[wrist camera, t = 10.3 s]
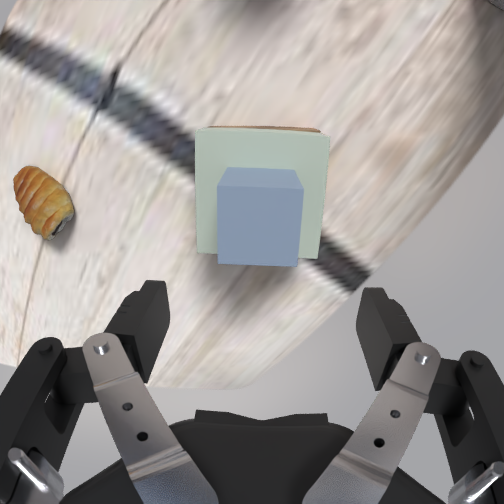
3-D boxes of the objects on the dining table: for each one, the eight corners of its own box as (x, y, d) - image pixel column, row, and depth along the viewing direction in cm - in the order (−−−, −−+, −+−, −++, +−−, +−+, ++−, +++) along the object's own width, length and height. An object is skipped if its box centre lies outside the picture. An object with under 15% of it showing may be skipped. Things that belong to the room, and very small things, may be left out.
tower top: (321, 132, 26) (330, 137, 23) (311, 239, 31) (317, 258, 27) (204, 127, 26) (195, 130, 23) (204, 234, 31) (197, 252, 27)
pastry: (13, 188, 33) (-5, 197, 29) (37, 150, 31) (18, 156, 27) (57, 239, 36) (41, 252, 32) (84, 204, 34) (67, 215, 30)
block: (294, 169, 24) (304, 189, 18) (289, 231, 26) (297, 266, 21) (227, 167, 24) (216, 185, 18) (226, 229, 26) (217, 263, 21)
